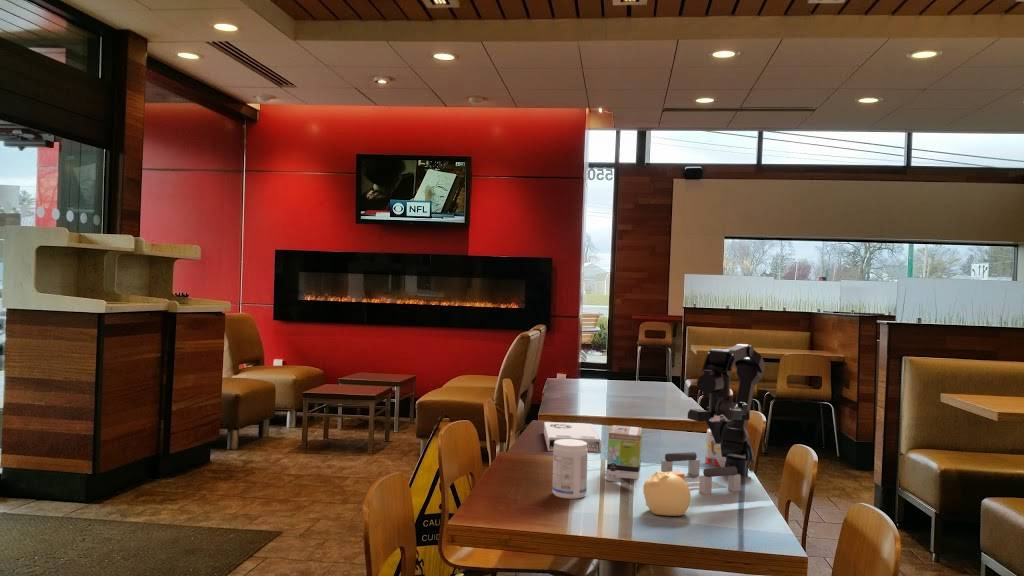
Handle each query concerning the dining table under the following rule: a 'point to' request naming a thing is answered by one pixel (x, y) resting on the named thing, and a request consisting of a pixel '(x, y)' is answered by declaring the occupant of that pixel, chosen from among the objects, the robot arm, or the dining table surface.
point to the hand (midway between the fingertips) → (717, 443)
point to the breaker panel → (694, 483)
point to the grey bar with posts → (731, 472)
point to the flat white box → (572, 434)
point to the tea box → (624, 453)
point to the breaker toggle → (679, 474)
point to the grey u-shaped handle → (691, 456)
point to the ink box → (713, 452)
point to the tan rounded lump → (666, 494)
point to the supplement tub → (570, 468)
